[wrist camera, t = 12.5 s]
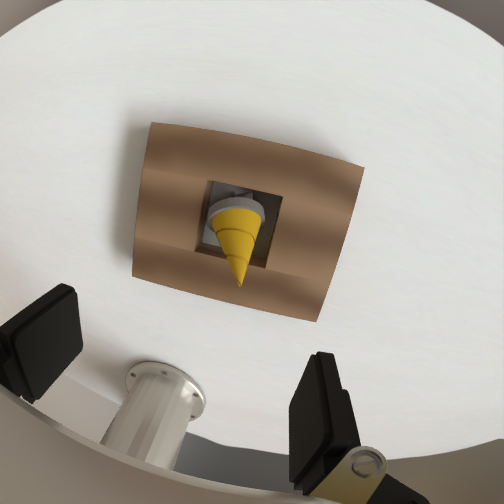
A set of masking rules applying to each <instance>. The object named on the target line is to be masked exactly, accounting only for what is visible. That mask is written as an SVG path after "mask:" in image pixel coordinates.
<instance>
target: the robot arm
mask: <svg viewBox="0 0 504 504" xmlns="http://www.w3.org/2000/svg"><path fill="white" fill-rule="evenodd" d="M82 348H83V340H82V333H81V325H80V317H79V308H78V297H77V293H76V292H75V289H74V288H73V287H71V286H69V285H66V284H63V283H61V284H59V285H57V286H56V287H55V288H53V289H52V290H50V291H49V292H47V293H46V294H44V295H43V296H41V297H40V298H39V299H37V300H36V301H34V302H33V303H32V304H30V305H29V306H27V307H26V308H25V309H23V310H22V311H20V312H19V313H18V314H16V315H15V316H14V317H12V318H11V319H10V320H8V321H7V322H6V323H4V324H3V325H2V326H0V504H430V503H429V501H428V500H427V499H426V498H425V497H424V496H422V495H420V494H419V493H417V492H415V491H414V490H412V489H410V488H409V487H407V486H405V485H404V484H402V483H400V482H399V481H398V480H396V479H394V478H392V477H391V476H390V475H388V474H387V473H386V472H387V461H386V458H385V457H384V456H383V454H382V453H381V452H379V451H378V450H377V449H374V448H372V447H368V446H361V443H360V438H359V434H358V429H357V425H356V421H355V417H354V412H353V408H352V404H351V400H350V396H349V393H348V391H347V390H345V389H342V386H341V382H340V378H339V374H338V370H337V366H336V362H335V358H334V355H333V354H332V353H326V352H317V353H316V355H313V354H312V355H311V356H310V359H309V361H308V363H307V366H306V368H305V371H304V373H303V375H302V378H301V380H300V382H299V384H298V387H297V389H296V391H295V393H294V396H293V398H292V400H291V402H290V406H289V481H290V482H293V483H294V490H303V495H298V494H289V493H281V492H274V491H266V490H258V489H252V488H245V487H239V486H233V485H228V484H223V483H218V482H213V481H209V480H205V479H200V478H196V477H192V476H188V475H184V474H180V473H177V472H174V471H173V468H174V465H175V462H176V459H177V456H178V453H179V450H180V446H181V443H182V441H183V437H184V434H185V431H186V428H187V425H188V422H189V421H192V420H195V419H197V418H198V417H200V416H201V414H202V413H203V410H204V408H205V403H206V402H205V396H204V394H203V391H202V390H201V388H200V387H199V386H198V384H197V383H196V382H195V381H194V380H193V379H191V378H190V377H189V376H188V375H186V374H185V373H183V372H182V371H180V370H178V369H176V368H174V367H171V366H168V365H166V364H162V363H157V362H142V363H139V364H136V365H135V366H133V367H132V368H131V369H130V370H129V372H128V374H127V376H126V380H125V382H126V388H127V391H128V394H127V396H126V398H125V400H124V401H123V403H122V405H121V406H120V408H119V410H118V412H117V413H116V415H115V417H114V419H113V420H112V422H111V424H110V426H109V427H108V429H107V431H106V433H105V435H104V436H103V438H102V440H101V442H100V443H97V442H95V441H93V440H91V439H89V438H87V437H85V436H83V435H81V434H79V433H77V432H75V431H73V430H71V429H69V428H67V427H66V426H64V425H62V424H60V423H58V422H57V421H55V420H53V419H52V418H50V417H48V416H47V415H45V414H43V413H42V412H40V411H38V410H37V409H35V408H34V407H32V406H31V405H29V404H28V403H26V402H25V401H23V400H22V399H20V398H19V397H20V396H21V395H22V397H23V399H25V400H26V401H28V402H29V403H31V404H33V403H34V401H35V400H38V399H40V398H41V397H42V396H43V394H44V393H45V392H46V391H47V390H48V388H49V387H50V386H51V385H52V384H53V382H54V381H55V380H56V379H57V378H58V377H59V376H60V375H61V373H62V372H63V371H64V370H65V369H66V368H67V367H68V365H69V364H70V363H71V362H72V361H73V360H74V359H75V358H76V357H77V355H78V354H79V353H80V352H81V351H82Z"/></svg>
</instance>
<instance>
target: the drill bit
mask: <svg viewBox="0 0 504 504" xmlns="http://www.w3.org/2000/svg"><path fill="white" fill-rule="evenodd" d="M207 222H208V227H209V228H210V229H211V230H212V231H213V232H215V234H216V236H217V238H218V240H219V243H220V245H221V247H222V250H223V252H224V254H225V256H228V257H226V258H227V261H228V263H229V265H230V267H231V270H232V272H233V274H234V276H235V278H236V279H237V283H238V285H239V287H241V285H242V282H243V279H244V276H245V273H246V269H247V266H248V263H249V260H250V257H251V253H252V250H253V247H254V244H255V241H256V237H257V234H258V231H259V230H260V229H261V228H262V227H263V226H264V224H265V214H264V208H263V206H262V205H261V204H260V203H258V202H257V201H255V200H253V195H252V192H249V193H244V194H238V195H236V193H235V191H234V193H233V194H232V196H231V197H230V198H227V199H223V200H220V201H218V202H216V203H215V204H213V205H212V206H211V207H210V209H209V210H208V219H207Z"/></svg>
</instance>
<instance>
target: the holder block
mask: <svg viewBox="0 0 504 504" xmlns="http://www.w3.org/2000/svg"><path fill="white" fill-rule="evenodd" d="M363 172H364V167H361V166H358V165H355V164H352V163H348V162H345V161H342V160H339V159H335V158H332V157H328V156H325V155H321V154H318V153H314V152H310V151H307V150H303V149H299V148H295V147H291V146H287V145H283V144H279V143H274V142H270V141H265V140H261V139H256V138H251V137H246V136H241V135H236V134H231V133H225V132H219V131H213V130H207V129H201V128H194V127H187V126H180V125H172V124H163V123H154V122H151V127H150V132H149V137H148V142H147V148H146V153H145V159H144V165H143V171H142V178H141V185H140V192H139V200H138V208H137V217H136V226H135V237H134V250H133V265H132V277H136V278H139V279H142V280H146V281H149V282H153V283H156V284H160V285H163V286H167V287H170V288H174V289H178V290H181V291H185V292H189V293H192V294H196V295H200V296H204V297H208V298H212V299H216V300H220V301H224V302H228V303H232V304H236V305H240V306H244V307H248V308H253V309H257V310H261V311H266V312H270V313H275V314H279V315H284V316H289V317H293V318H298V319H303V320H308V321H313V322H316V321H317V318H318V316H319V313H320V310H321V308H322V305H323V302H324V300H325V297H326V294H327V291H328V288H329V285H330V283H331V280H332V277H333V274H334V271H335V268H336V265H337V262H338V259H339V256H340V253H341V249H342V246H343V243H344V240H345V237H346V233H347V230H348V227H349V223H350V220H351V217H352V213H353V210H354V206H355V202H356V199H357V195H358V191H359V188H360V184H361V180H362V176H363ZM213 181H217V182H221V183H226V184H231V185H235V186H240V187H245V188H249V189H253V190H258V191H262V192H266V193H271V194H275V195H279V196H282V198H281V202H280V206H279V210H278V214H277V218H276V222H275V226H274V230H273V234H272V238H271V242H270V246H269V250H268V254H267V258H263V257H259V256H255V255H251V257H250V260H249V263H248V266H247V269H246V273H245V276H244V279H243V282H242V285H241V287H239V285H238V283H237V279H236V278H235V276H234V274H233V272H232V270H231V267H230V265H229V263H228V261H227V258H226V257H228V256H225V254H224V252H223V250H222V248H221V247H217V246H213V245H209V244H204V243H202V238H203V232H204V227H205V221H206V216H207V210H208V205H209V200H210V195H211V189H212V184H213Z"/></svg>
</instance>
